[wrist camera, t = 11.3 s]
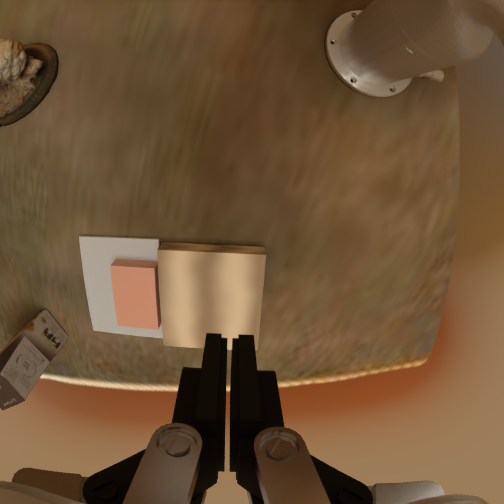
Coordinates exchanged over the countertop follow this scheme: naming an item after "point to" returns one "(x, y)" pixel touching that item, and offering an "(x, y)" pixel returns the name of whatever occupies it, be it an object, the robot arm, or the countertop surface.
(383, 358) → the countertop surface
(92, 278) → the mat
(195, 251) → the plate
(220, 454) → the robot arm
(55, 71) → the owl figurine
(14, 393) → the coffee box
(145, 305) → the salmon pink rectangular block
